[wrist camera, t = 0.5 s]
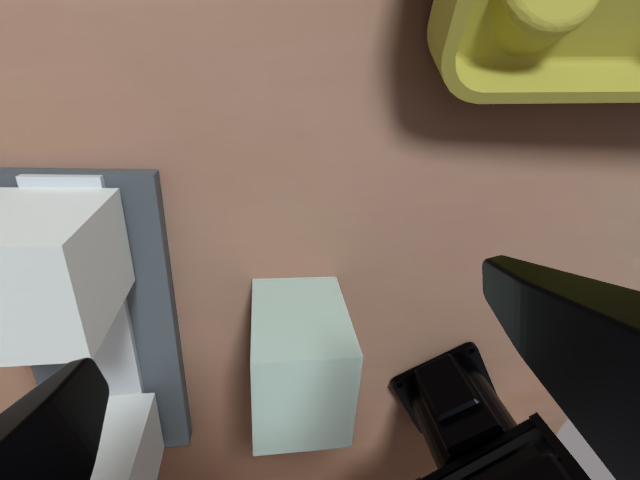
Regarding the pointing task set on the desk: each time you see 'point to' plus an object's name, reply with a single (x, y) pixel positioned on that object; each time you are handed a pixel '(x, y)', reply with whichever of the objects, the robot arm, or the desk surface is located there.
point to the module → (302, 366)
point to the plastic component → (537, 50)
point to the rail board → (96, 301)
